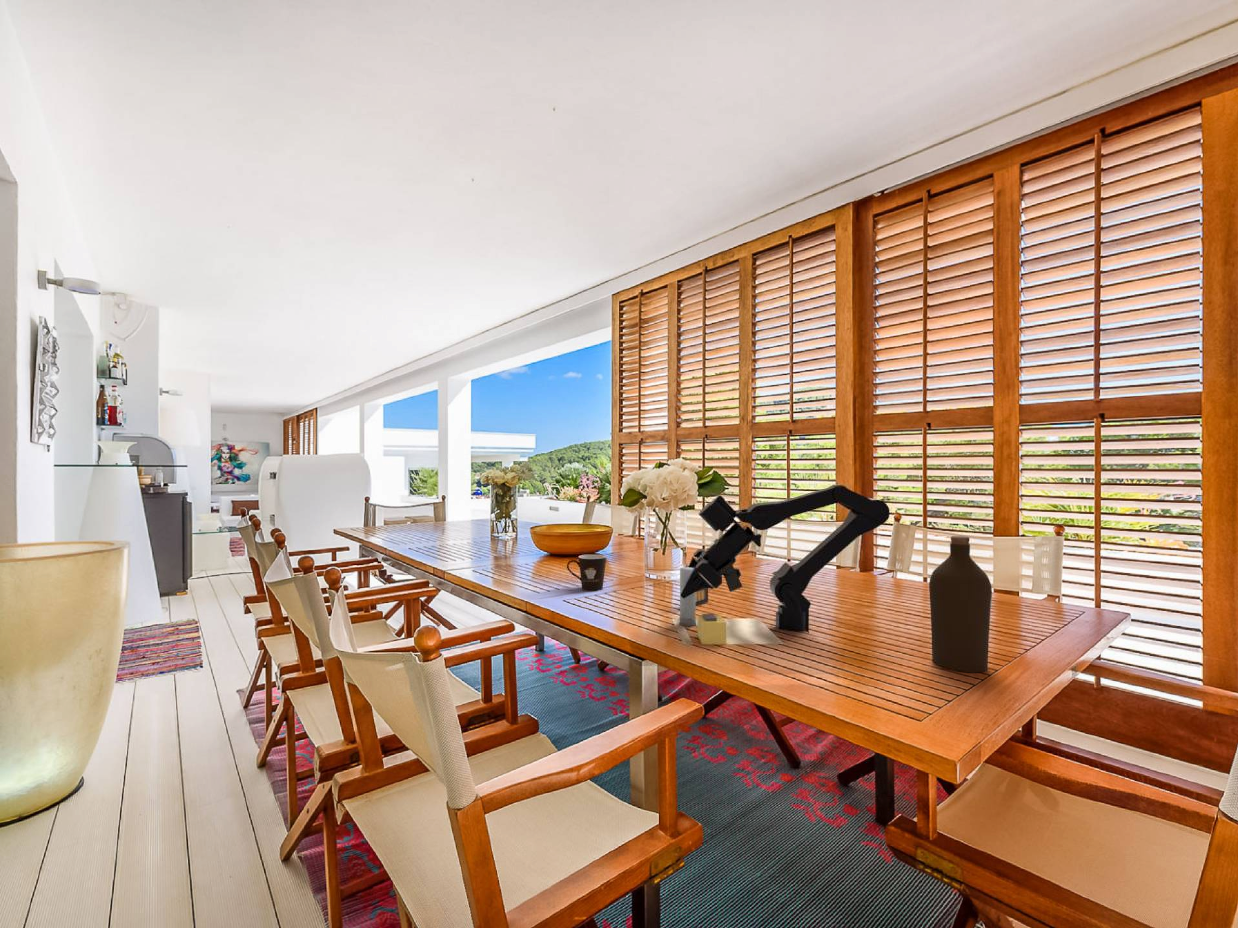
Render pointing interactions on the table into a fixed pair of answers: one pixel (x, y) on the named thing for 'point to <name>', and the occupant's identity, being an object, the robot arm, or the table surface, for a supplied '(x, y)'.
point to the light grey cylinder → (687, 600)
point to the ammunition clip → (701, 595)
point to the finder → (711, 629)
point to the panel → (737, 632)
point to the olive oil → (960, 611)
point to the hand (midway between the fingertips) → (681, 591)
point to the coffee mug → (590, 571)
